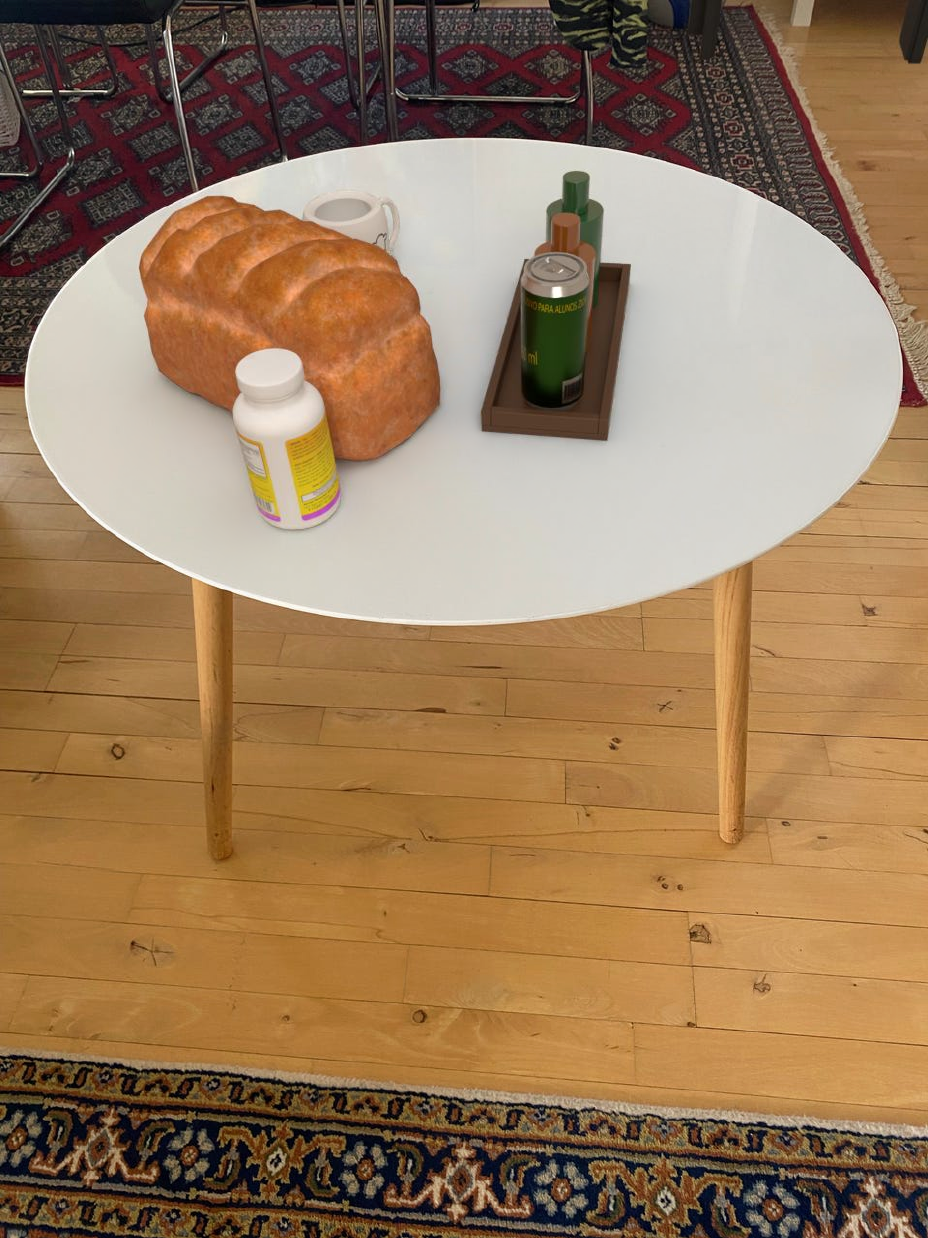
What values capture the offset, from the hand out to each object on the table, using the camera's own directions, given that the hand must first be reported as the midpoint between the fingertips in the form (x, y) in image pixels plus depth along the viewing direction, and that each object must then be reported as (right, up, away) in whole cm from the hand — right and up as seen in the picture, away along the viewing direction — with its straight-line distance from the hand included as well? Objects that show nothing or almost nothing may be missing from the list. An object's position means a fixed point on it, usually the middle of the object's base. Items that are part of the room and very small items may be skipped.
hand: (806, 51), depth 49 cm
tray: (-8, -3, +43) cm, 43 cm away
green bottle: (-6, +3, +47) cm, 48 cm away
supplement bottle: (-30, -19, +30) cm, 46 cm away
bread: (-32, -7, +41) cm, 52 cm away
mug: (-27, +8, +54) cm, 61 cm away
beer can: (-9, -9, +37) cm, 39 cm away
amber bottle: (-8, -3, +42) cm, 43 cm away
